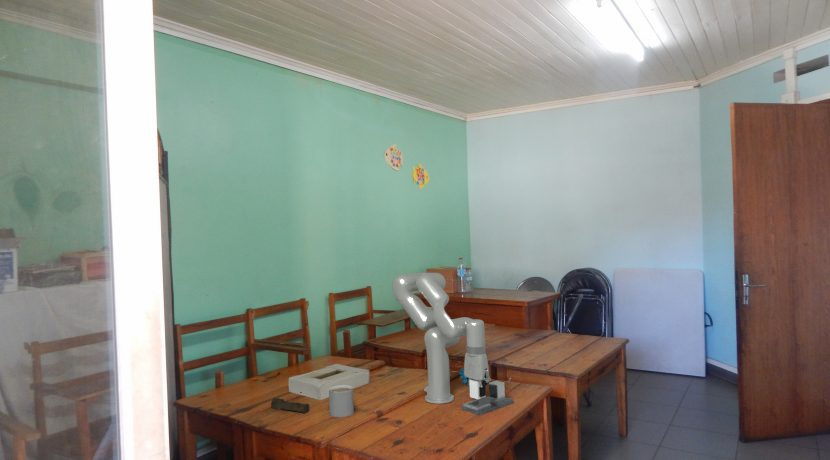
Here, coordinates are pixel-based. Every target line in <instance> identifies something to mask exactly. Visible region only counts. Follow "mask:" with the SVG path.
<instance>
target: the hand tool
mask: <svg viewBox="0 0 830 460" xmlns="http://www.w3.org/2000/svg"><path fill="white" fill-rule="evenodd" d="M270 407H271V408H272V409H274V410H278V411H280V410H285V411H292V412H298V413H302V414H304V415H305V414H307V413H309V411H310V404H309V403H301V402H293V401H287V400H285V399H284V398H279V397H273V399H271V402H270Z"/></svg>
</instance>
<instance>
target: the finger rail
mask: <svg viewBox="0 0 830 460" xmlns="http://www.w3.org/2000/svg"><path fill="white" fill-rule="evenodd" d="M505 390H506V389H505V382H504V381H501V380H493V381H490V382H489V383H488V396H486V397H484V398H481V399H474V400H470V401H467V402H464V403H463V405H461V410H463V411H464V412H468V413H471V414H473V415H477V416H482V415H485V414H487V413H491V412H493V411H496V410H499V409H501V408H504V407H506V406H509V405H512V404H514V398H510V397H506V394H505Z"/></svg>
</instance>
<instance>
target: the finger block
mask: <svg viewBox="0 0 830 460" xmlns="http://www.w3.org/2000/svg"><path fill="white" fill-rule="evenodd" d="M469 382H470V386H469V398H471V399H474V400H476V399H477V400H480V399H483V398H486V397H487V396H486V395H487V394H486V395H485V396H483V397H480V396H479V387H480V383H479V380H475V379H471V380H469ZM482 383H483V380H482ZM485 389H486V390H487V386H485Z"/></svg>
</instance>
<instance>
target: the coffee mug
mask: <svg viewBox="0 0 830 460" xmlns="http://www.w3.org/2000/svg"><path fill="white" fill-rule="evenodd" d="M354 399H355V398H354V388H353V387H352V386H348V385H339V386H334V387H331V388H330V389H329V397H328V403H329V404H328V405H329V409H328V410H329V415H330V417H333V418H345V417H349V416H352V415H353V414H355V405H354V404H355V403H354V402H355V400H354Z"/></svg>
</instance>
